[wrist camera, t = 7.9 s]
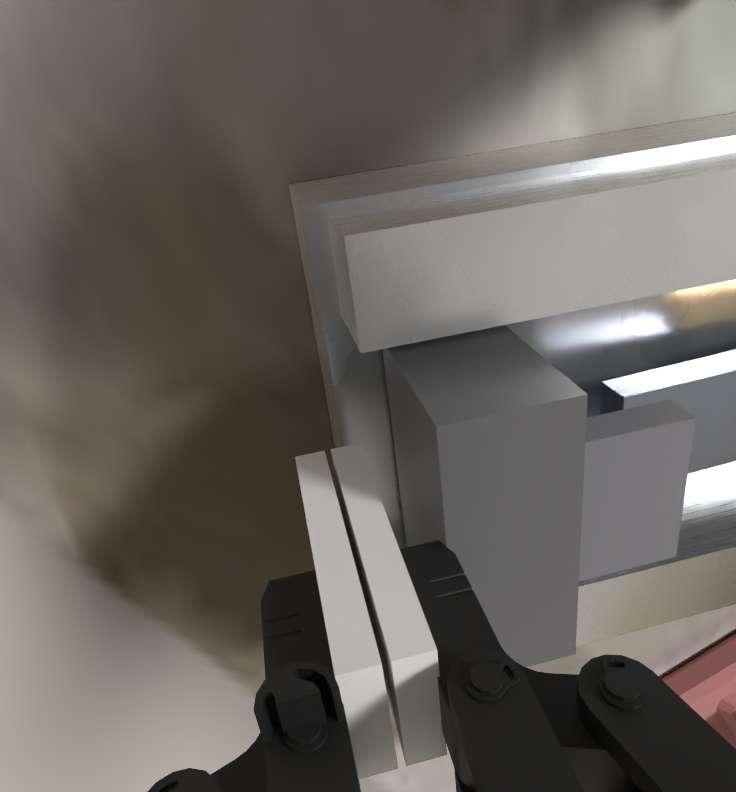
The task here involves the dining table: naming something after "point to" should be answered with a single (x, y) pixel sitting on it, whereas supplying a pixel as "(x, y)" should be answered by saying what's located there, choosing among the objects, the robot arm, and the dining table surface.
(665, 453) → the grey slider block
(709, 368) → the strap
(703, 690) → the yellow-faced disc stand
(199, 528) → the dining table surface
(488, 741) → the robot arm
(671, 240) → the rail slide plate
